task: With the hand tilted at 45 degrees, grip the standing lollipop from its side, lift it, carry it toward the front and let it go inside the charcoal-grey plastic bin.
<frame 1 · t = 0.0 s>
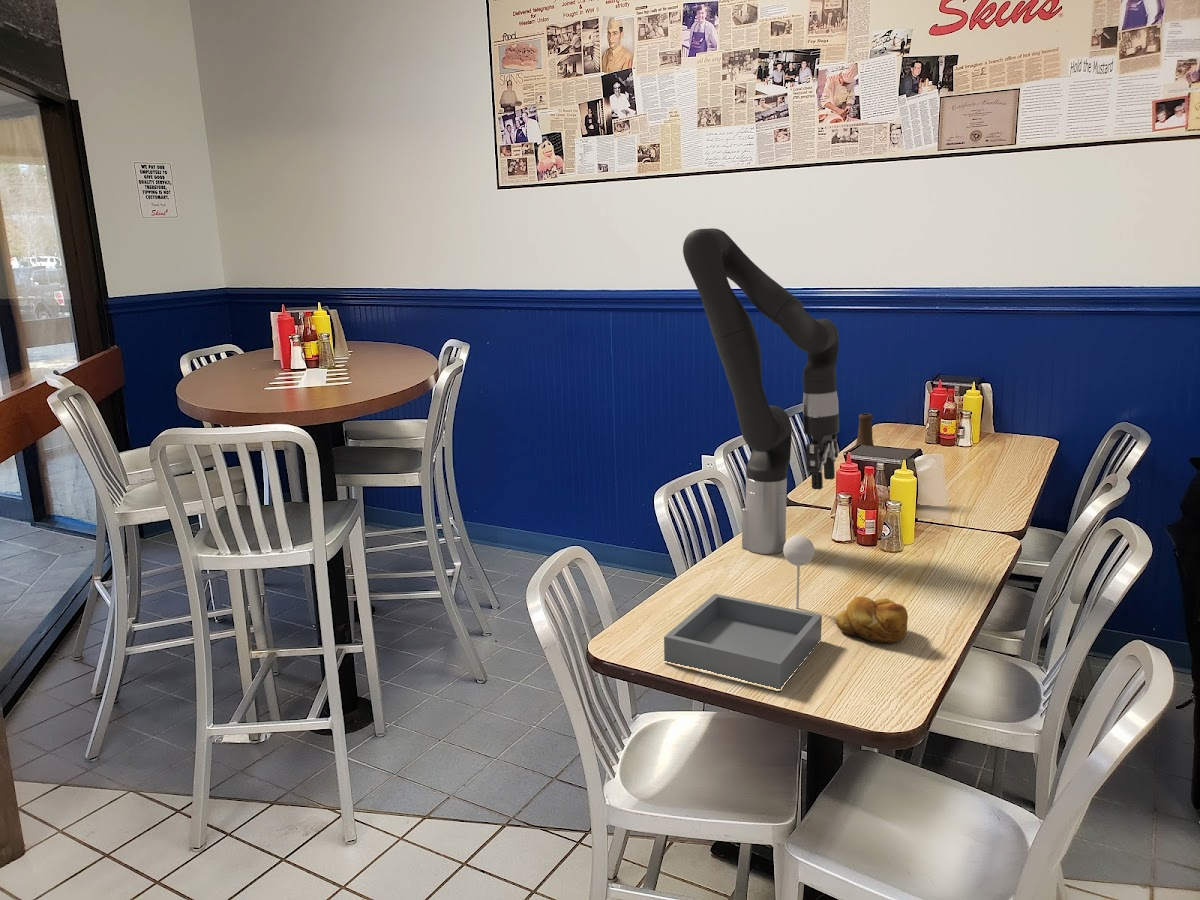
hand: (823, 483, 198), 17 cm above the table, tool pointing down, fingers open, 8 cm apart
tray: (744, 651, 159), on the table
bread roll: (872, 635, 164), on the table
lollipop: (797, 609, 176), on the table
beer bottle: (862, 502, 241), on the table
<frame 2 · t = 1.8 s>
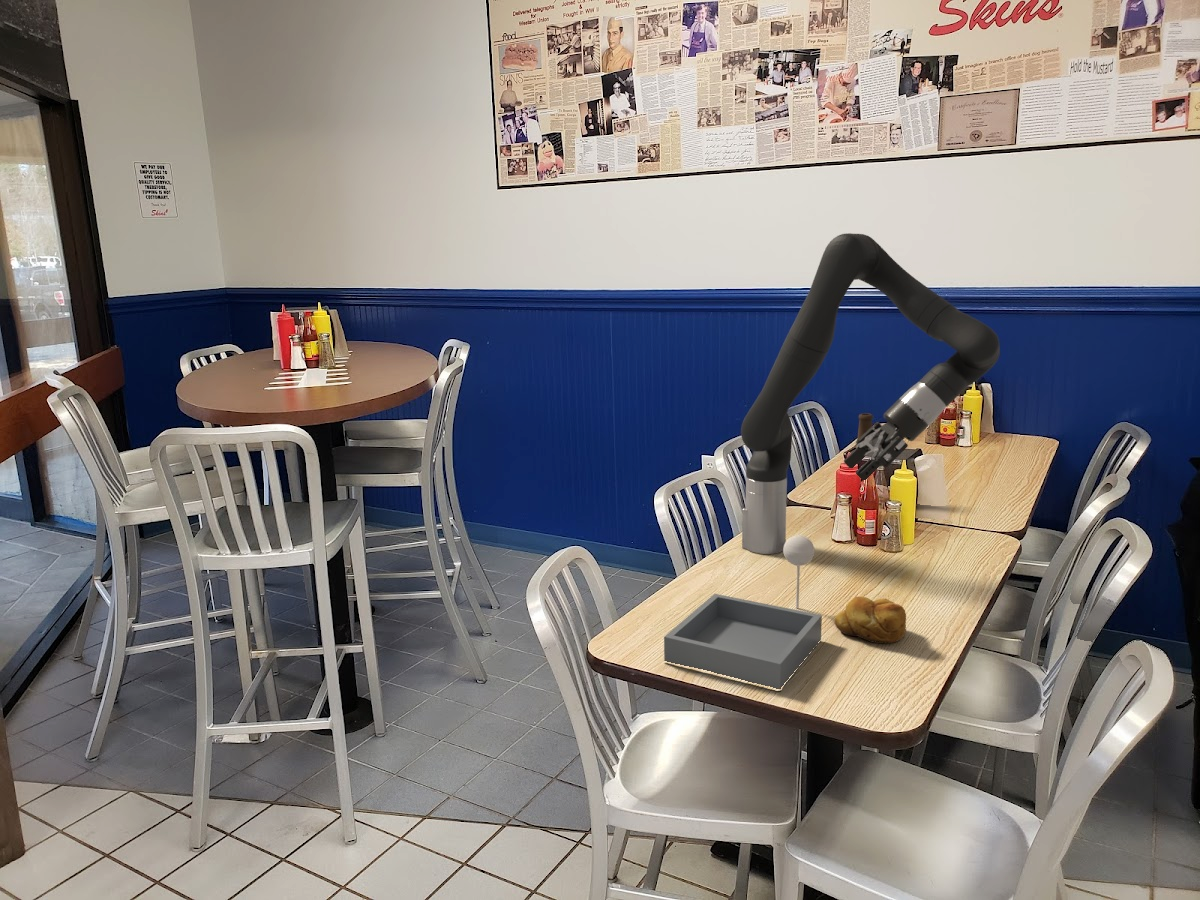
hand: (853, 471, 174), 26 cm above the table, tool tilted 45°, fingers open, 8 cm apart
nothing on the table moved.
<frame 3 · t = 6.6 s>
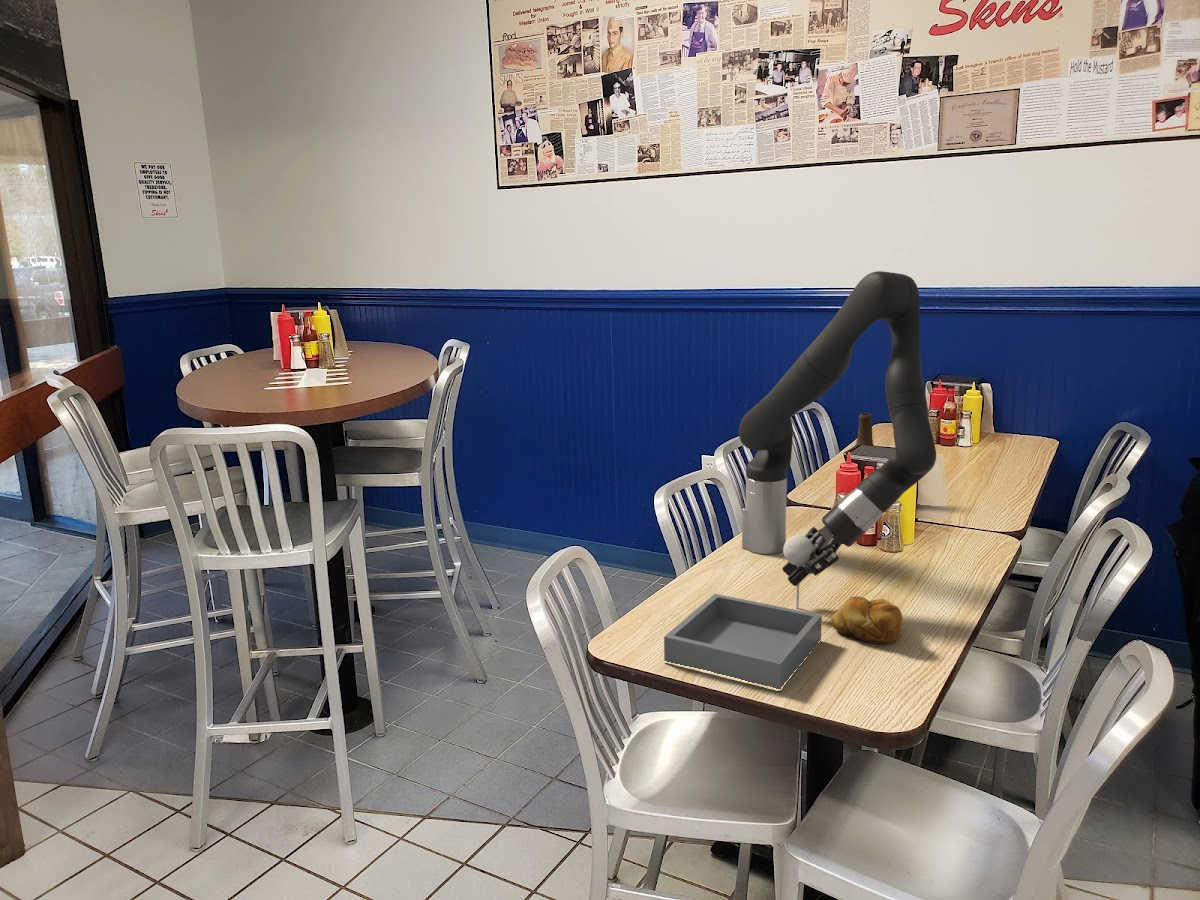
hand: (788, 577, 174), 7 cm above the table, tool tilted 45°, fingers closed on lollipop, 4 cm apart
lollipop: (797, 609, 176), on the table, touching gripper
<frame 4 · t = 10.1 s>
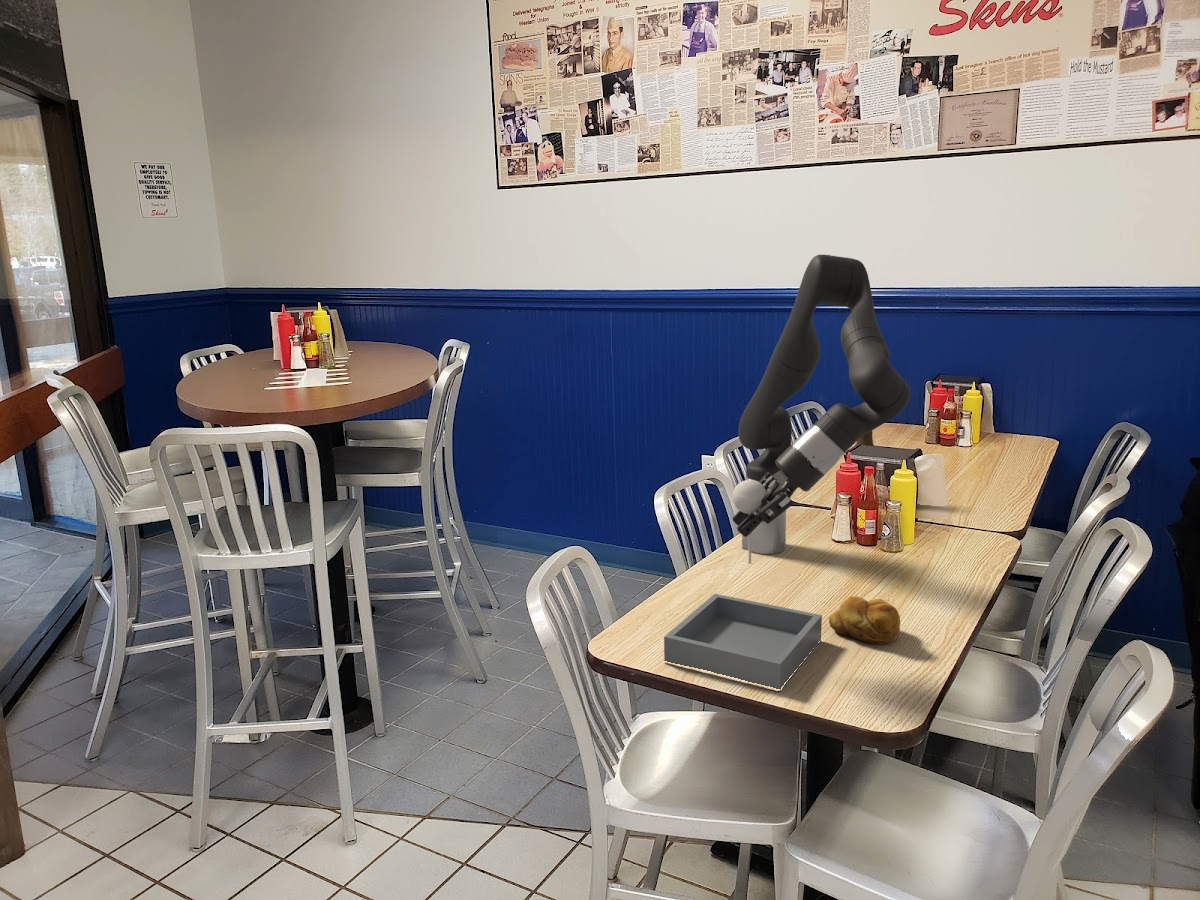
hand: (738, 527, 154), 23 cm above the table, tool tilted 45°, fingers closed on lollipop, 4 cm apart
lollipop: (749, 564, 156), point 16 cm above the table, touching gripper
when the fingers open (9 cm above the table, at t = 13.7 s): lollipop drops 1 cm, resting on tray.
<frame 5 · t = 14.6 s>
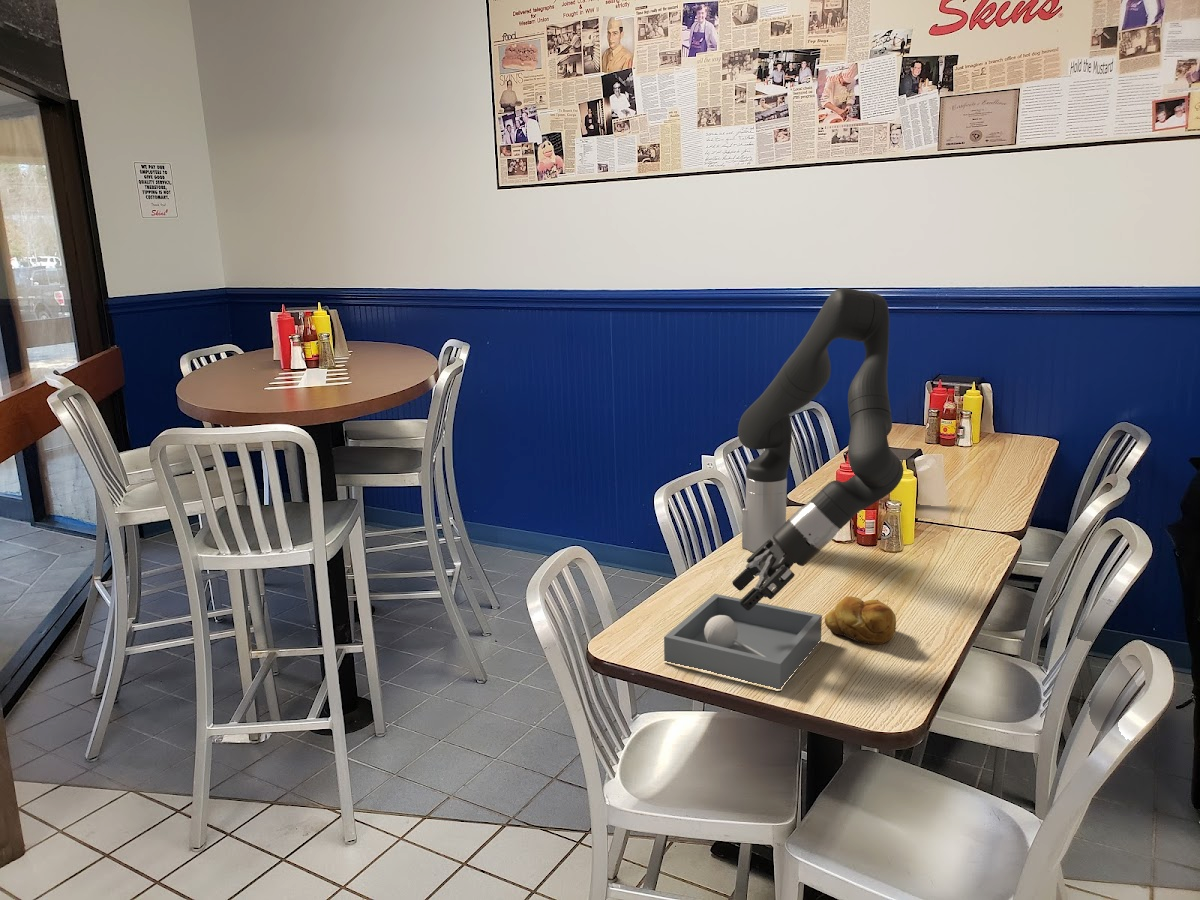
hand: (739, 596, 157), 10 cm above the table, tool tilted 45°, fingers open, 8 cm apart
lollipop: (779, 666, 150), point 1 cm above the table, touching tray
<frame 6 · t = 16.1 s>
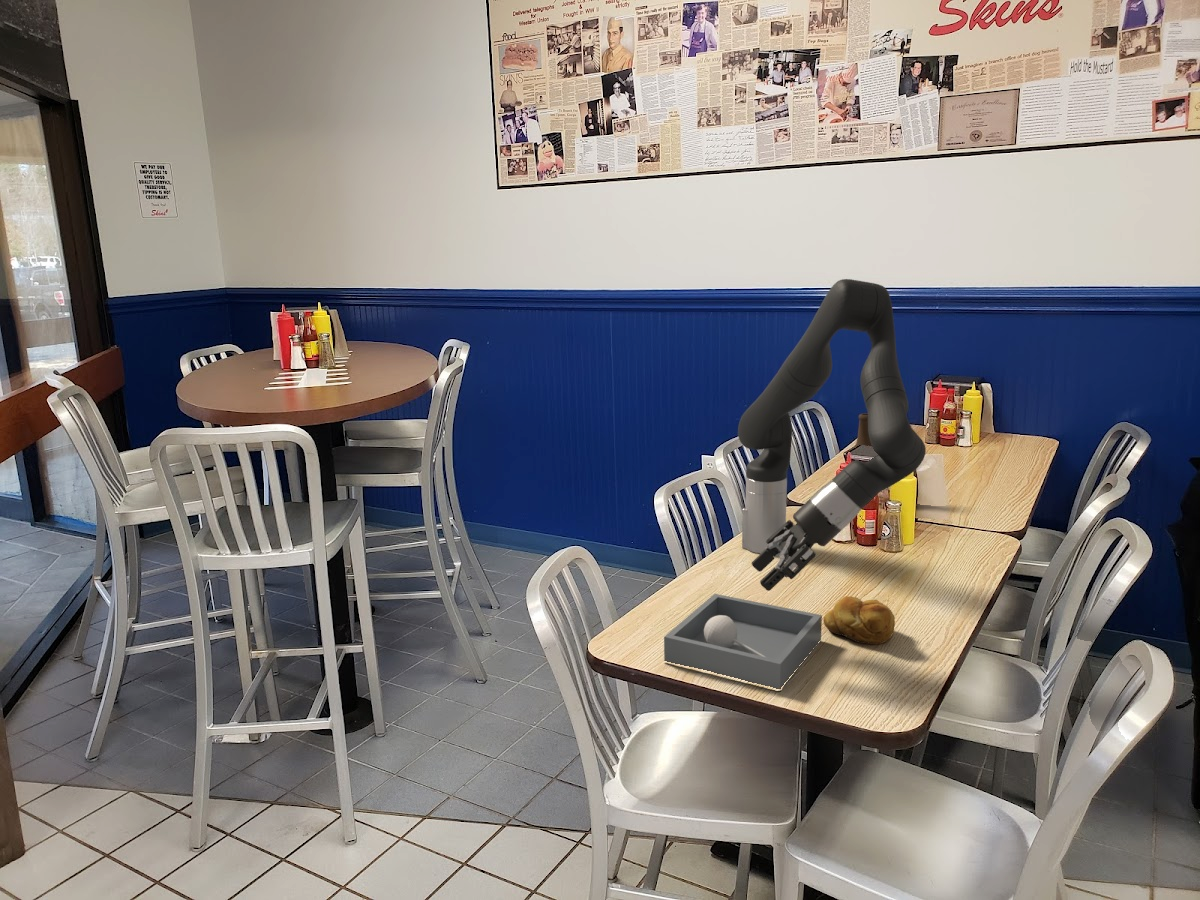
hand: (759, 577, 157), 14 cm above the table, tool tilted 45°, fingers open, 8 cm apart
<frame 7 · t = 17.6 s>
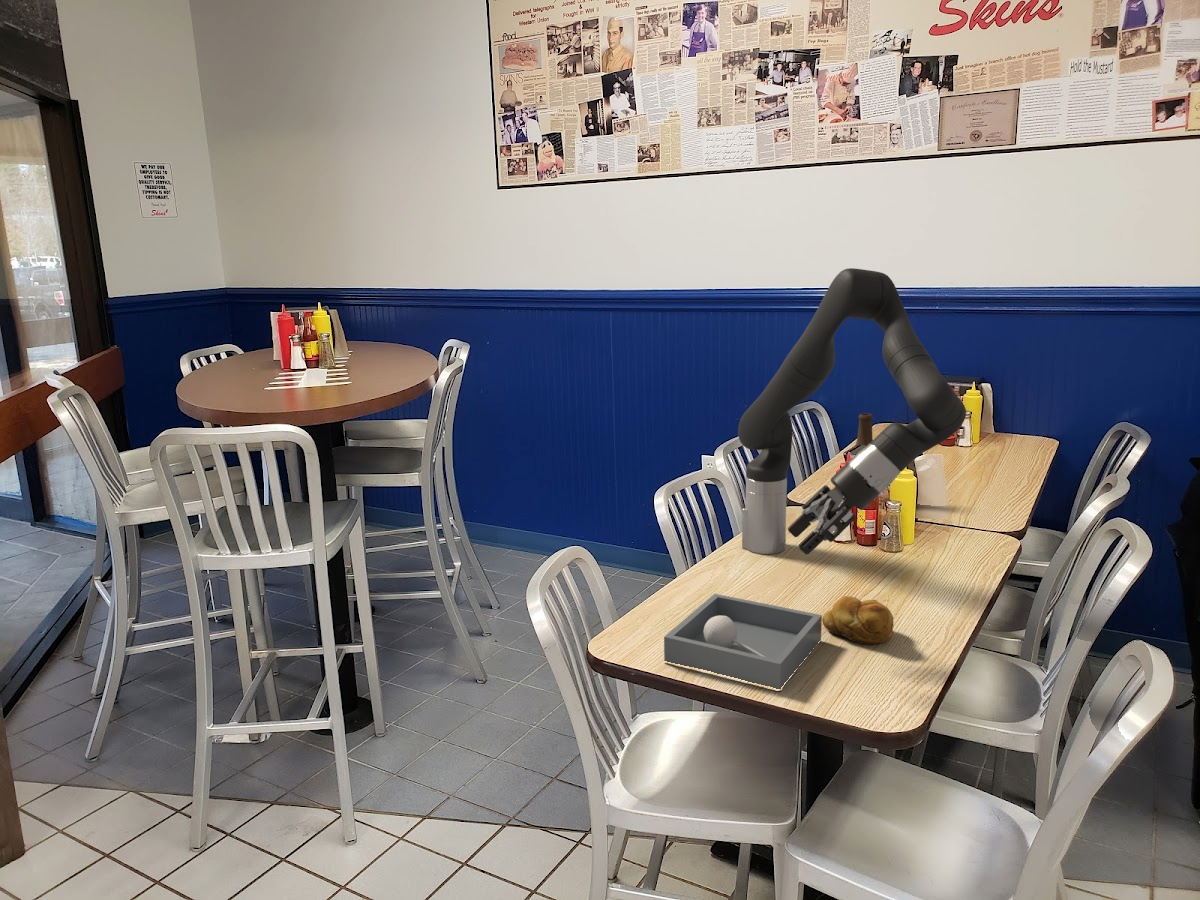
hand: (796, 542, 155), 20 cm above the table, tool tilted 45°, fingers open, 8 cm apart
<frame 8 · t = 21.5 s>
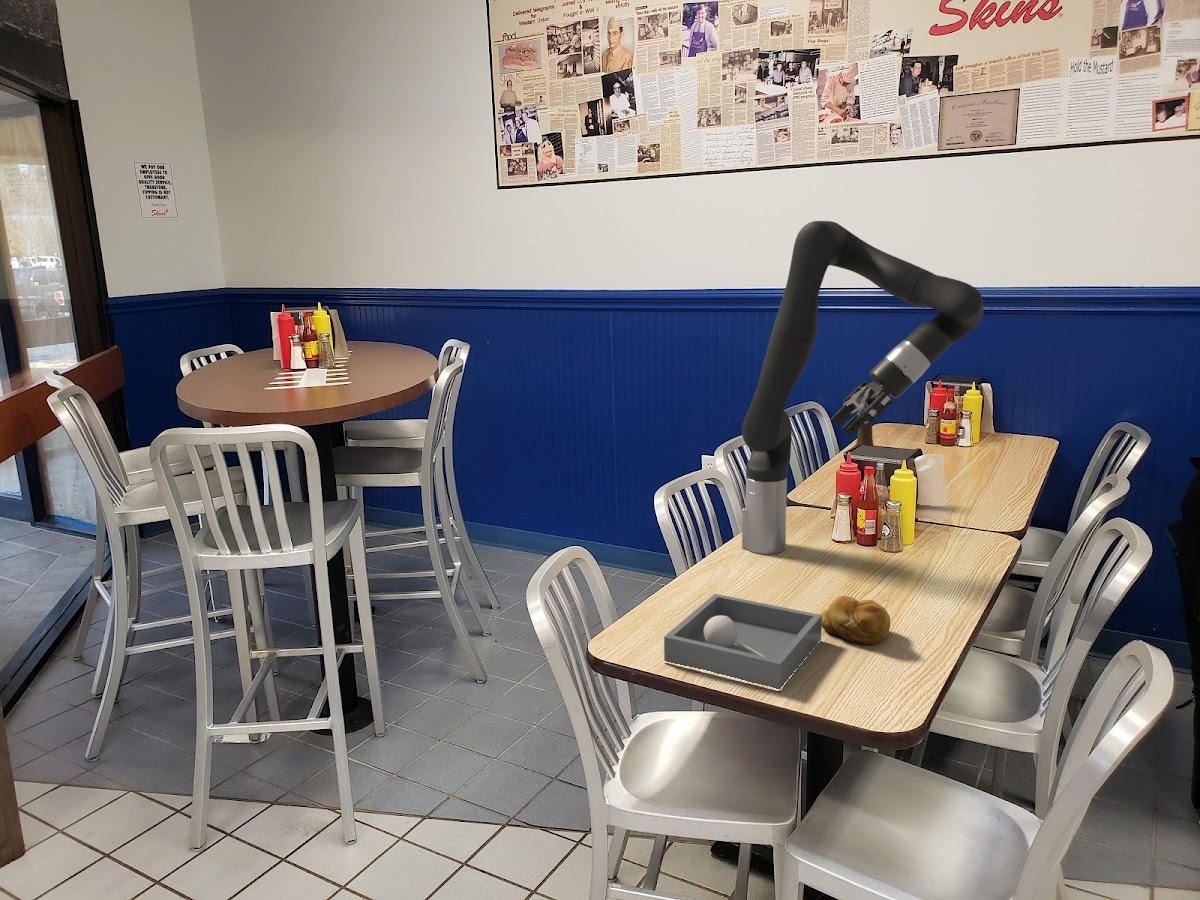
hand: (839, 428, 178), 34 cm above the table, tool tilted 45°, fingers open, 8 cm apart
at the end: lollipop inside the target area on the tray (9.6 cm from its centre), point 1.4 cm above the tray's base; the gripper is holding nothing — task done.
